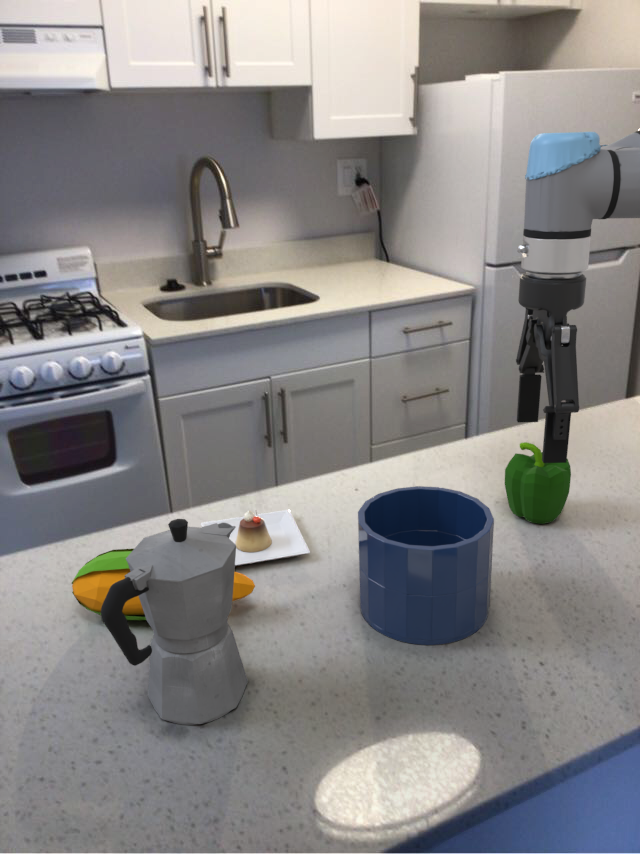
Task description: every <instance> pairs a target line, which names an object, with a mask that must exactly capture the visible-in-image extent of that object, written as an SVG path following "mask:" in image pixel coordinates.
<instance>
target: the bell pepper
mask: <svg viewBox="0 0 640 854" xmlns="http://www.w3.org/2000/svg"><path fill="white" fill-rule="evenodd" d="M519 449H520V450H521V451H525V450H527V451H530V452H531V453H532V455H527V454H524V453H514V454H513V456H512V457H511V459H510V460H509V461H508V464H507V465H506V467H505V469H504V488H505V494H506V499H507V504H508V506H509V509H510V511H511V512H512V514H513V515H515V516H516V517H519V518H524V519H525V520H526V521H527V522H530V523H532V524H539V525H540V524H541V525H542V524H543V525H545V524H550V523H552V522H554V521H555V520H556V519H558V517H559V516H560V515H561V514H562V513H563V511H564V507H565V505H566V503H567V500H568V498H569V494H570V489H571V478H572V470H571V463H570V461H569V459H568V458H567V462H566V463H543V461H542V454H543V451H541V449H540V448H539V447H538V446H537V445H536V444H534V443H531V442H527V441H526V442H520V443H519Z"/></svg>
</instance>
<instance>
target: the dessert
mask: <svg viewBox="0 0 640 854" xmlns="http://www.w3.org/2000/svg"><path fill="white" fill-rule="evenodd" d="M215 523H217V524H220V523H228V524H230V525H231V526H235V527H236V528H235V529H234V530H233V531H232V533H231V534H230V537H229V539H230V540H231V541H232V542H233V543H234V544H236V556H235V567H240V566H247V565H252V564H259V563H263V562H270V561H275V560H276V561H277V560H281V559H288V558H289V559H290V558H295V557H300V556H302V555H307V554H310V553H311V551H310V549H309V547H308V544H307V543H306V540H305V538H304V536H303V534H302V532H301V530H300V528H299V526H298V524H297V522H296V519H295V518H294V515H293V514H292V511H291V510H290V509H289V508H288V509H282V510H276V511H269V512H262V513H258V512H257V511H255V513H254V512H253V511H252V510H247V511H246V512H244V515H243V516H236V517H230V518H223V519H217V520H210V521H203V522H200V528H202V527H204V526H208V525H212V524H215Z"/></svg>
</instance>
